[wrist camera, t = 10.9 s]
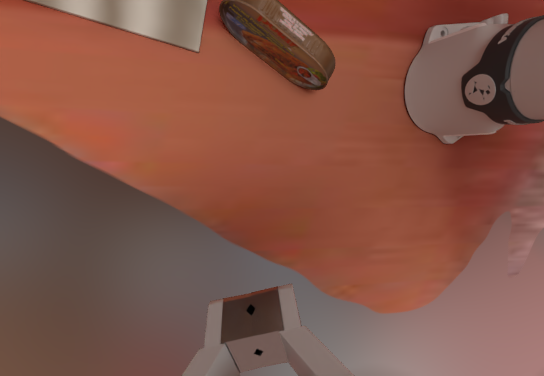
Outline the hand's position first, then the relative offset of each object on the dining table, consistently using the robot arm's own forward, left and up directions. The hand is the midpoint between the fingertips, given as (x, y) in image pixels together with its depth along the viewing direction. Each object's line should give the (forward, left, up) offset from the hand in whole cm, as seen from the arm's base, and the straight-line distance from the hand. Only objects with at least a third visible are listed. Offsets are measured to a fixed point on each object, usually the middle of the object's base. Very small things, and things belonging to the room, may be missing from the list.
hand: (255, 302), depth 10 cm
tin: (-14, -13, -29) cm, 35 cm away
